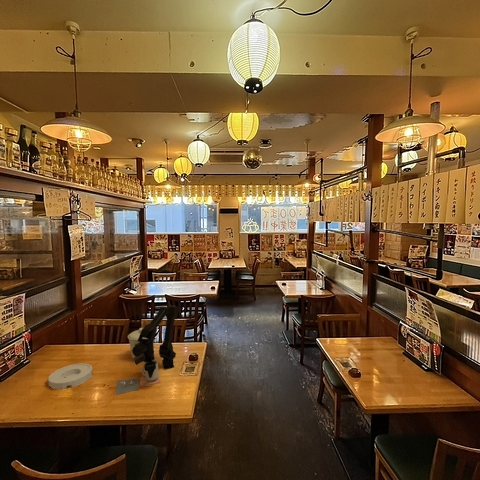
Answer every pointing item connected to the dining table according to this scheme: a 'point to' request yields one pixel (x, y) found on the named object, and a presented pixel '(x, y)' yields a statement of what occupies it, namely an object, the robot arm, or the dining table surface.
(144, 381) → the coaster pad
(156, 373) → the cup
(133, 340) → the canister
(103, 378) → the dining table surface
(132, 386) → the tile
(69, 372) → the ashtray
